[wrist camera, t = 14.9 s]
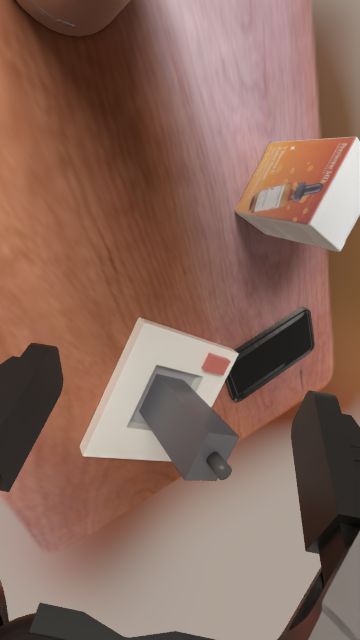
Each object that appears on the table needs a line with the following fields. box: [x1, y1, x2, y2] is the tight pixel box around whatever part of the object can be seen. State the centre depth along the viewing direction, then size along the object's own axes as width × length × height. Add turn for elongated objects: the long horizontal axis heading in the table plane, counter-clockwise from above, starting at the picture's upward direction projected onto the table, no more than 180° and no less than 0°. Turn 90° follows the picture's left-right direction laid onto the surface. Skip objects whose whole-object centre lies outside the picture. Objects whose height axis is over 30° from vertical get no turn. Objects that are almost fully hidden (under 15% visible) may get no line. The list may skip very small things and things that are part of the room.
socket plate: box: [79, 317, 239, 462], centre depth 40 cm, size 16×14×2 cm
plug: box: [139, 374, 239, 481], centre depth 36 cm, size 5×4×13 cm
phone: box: [225, 307, 314, 402], centre depth 48 cm, size 8×1×15 cm
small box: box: [235, 137, 360, 252], centre depth 34 cm, size 8×6×10 cm
